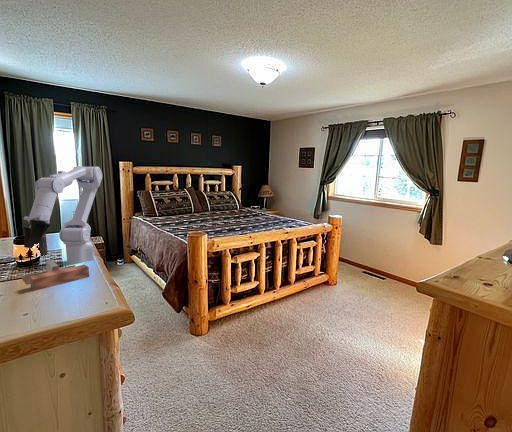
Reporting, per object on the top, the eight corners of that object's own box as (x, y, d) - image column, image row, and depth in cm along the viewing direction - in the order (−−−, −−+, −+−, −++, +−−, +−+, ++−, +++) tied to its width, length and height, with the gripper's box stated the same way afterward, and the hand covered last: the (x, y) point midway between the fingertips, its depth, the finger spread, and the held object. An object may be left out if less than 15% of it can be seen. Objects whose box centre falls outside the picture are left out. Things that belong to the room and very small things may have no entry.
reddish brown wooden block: (85, 277, 103) (84, 264, 102) (89, 280, 100) (88, 266, 100) (31, 291, 90) (29, 276, 90) (34, 294, 88) (33, 279, 87)
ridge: (55, 269, 107) (54, 259, 106) (62, 275, 101) (61, 265, 100) (43, 272, 104) (42, 262, 103) (49, 278, 98) (48, 267, 97)
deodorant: (50, 254, 130) (47, 223, 127) (37, 258, 124) (33, 225, 122) (42, 253, 131) (38, 222, 129) (28, 256, 126) (24, 224, 124)
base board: (74, 267, 112) (74, 265, 112) (83, 274, 105) (83, 271, 105) (20, 278, 100) (20, 276, 99) (27, 287, 93) (26, 284, 92)
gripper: (23, 210, 99) (11, 247, 94) (33, 198, 90) (20, 238, 85) (47, 215, 104) (36, 251, 99) (58, 205, 95) (47, 243, 90)
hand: (30, 245), depth 92 cm, fingers open, 7 cm apart
